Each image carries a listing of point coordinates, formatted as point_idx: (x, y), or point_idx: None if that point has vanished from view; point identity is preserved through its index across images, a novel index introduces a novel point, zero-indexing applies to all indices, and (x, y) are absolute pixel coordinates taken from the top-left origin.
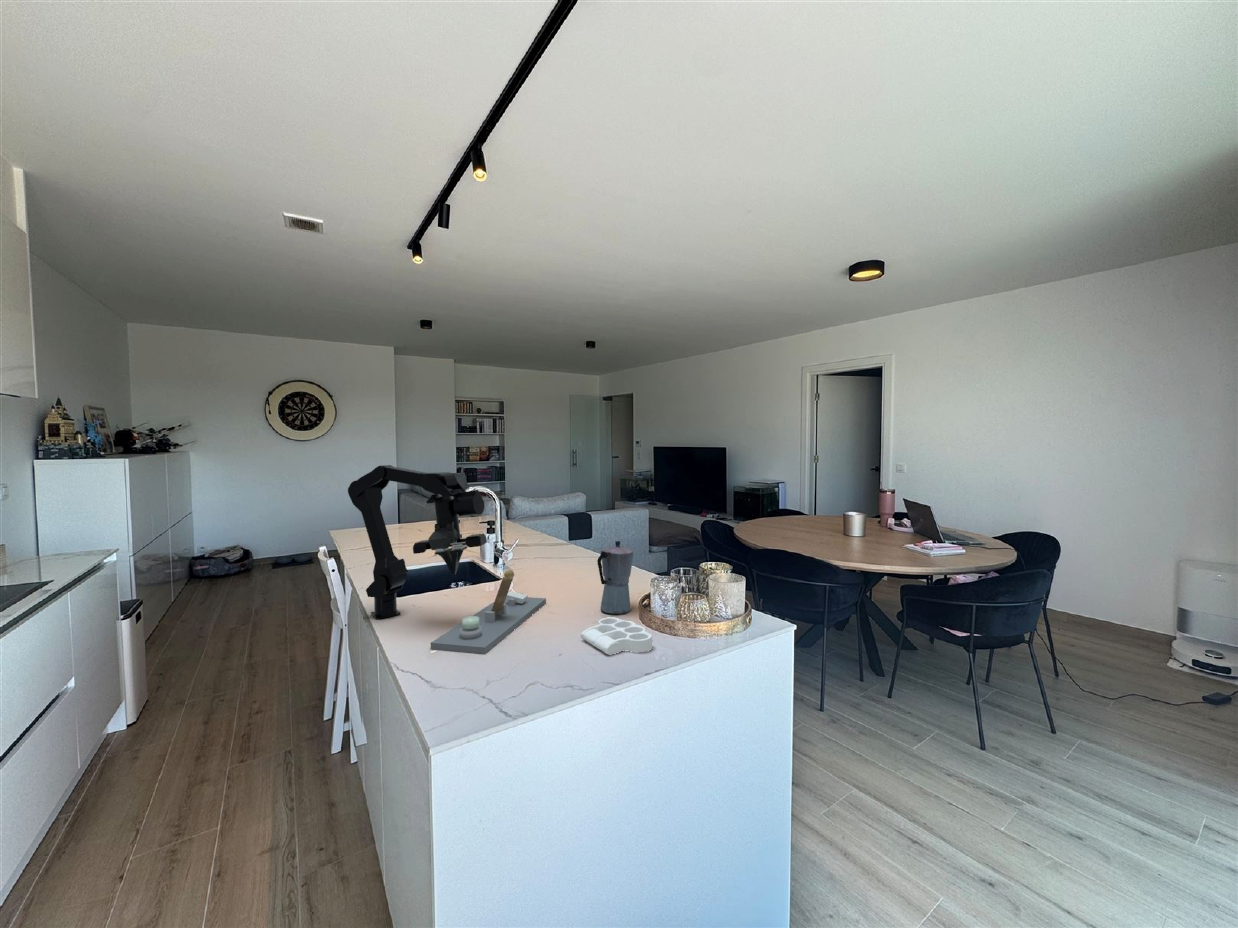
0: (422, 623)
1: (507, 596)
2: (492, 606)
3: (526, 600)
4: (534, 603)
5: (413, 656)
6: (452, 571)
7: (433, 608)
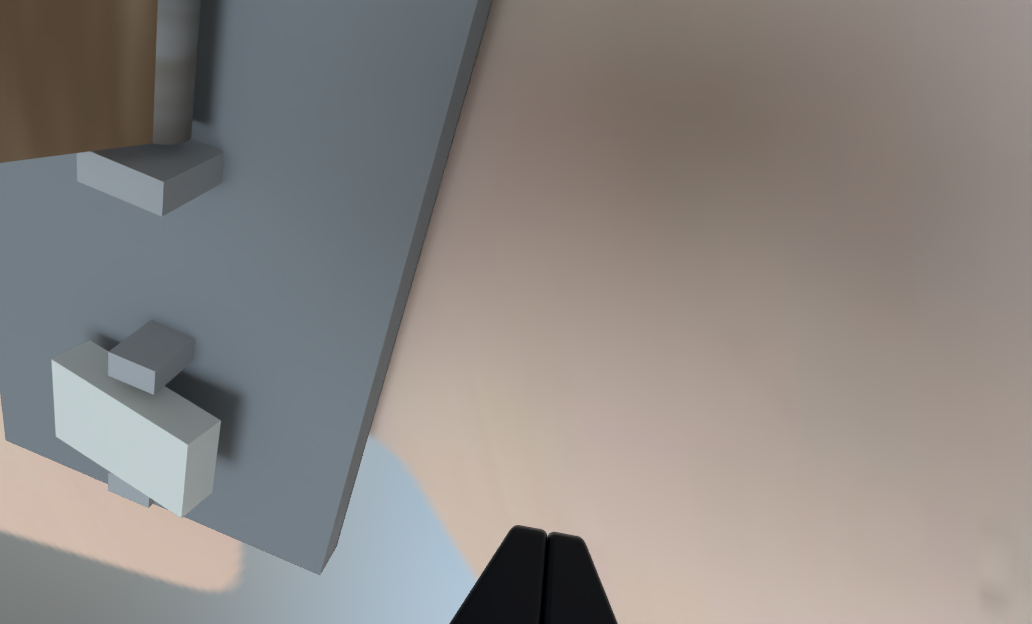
0: (981, 162)
1: (176, 424)
2: (326, 366)
3: None
4: (31, 353)
5: None
6: (549, 591)
7: (871, 541)
